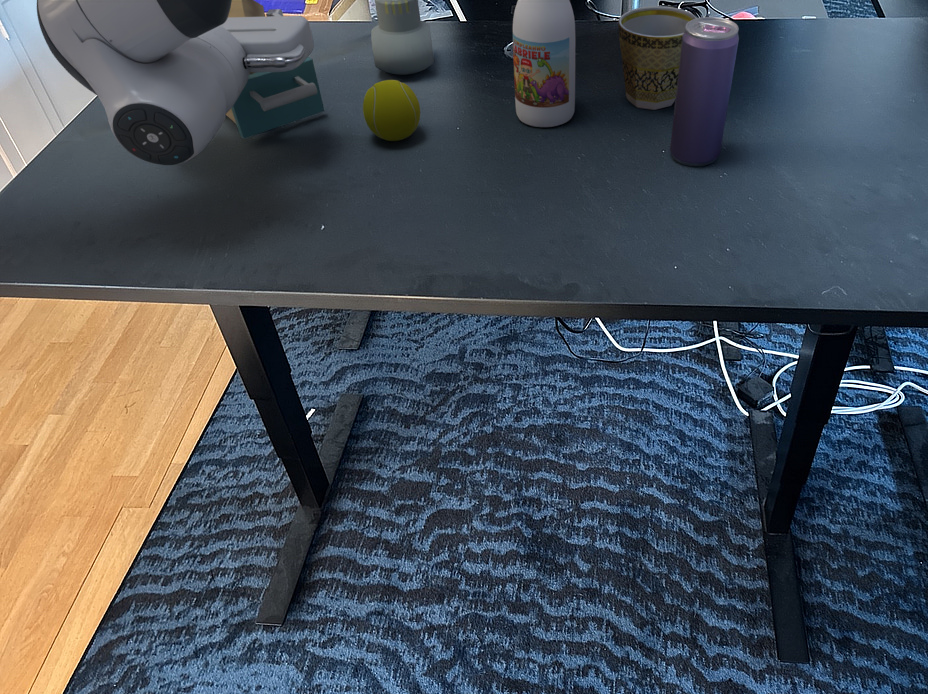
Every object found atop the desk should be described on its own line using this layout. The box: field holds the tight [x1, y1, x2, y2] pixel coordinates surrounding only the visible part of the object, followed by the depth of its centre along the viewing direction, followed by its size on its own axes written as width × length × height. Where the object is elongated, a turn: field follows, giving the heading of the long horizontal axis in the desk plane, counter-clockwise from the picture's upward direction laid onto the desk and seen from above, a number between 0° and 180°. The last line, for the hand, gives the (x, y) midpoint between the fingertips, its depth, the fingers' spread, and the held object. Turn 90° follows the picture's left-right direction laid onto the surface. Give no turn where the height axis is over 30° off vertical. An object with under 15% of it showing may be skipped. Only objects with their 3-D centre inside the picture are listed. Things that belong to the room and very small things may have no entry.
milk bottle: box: [512, 0, 576, 128], centre depth 94 cm, size 8×8×20 cm
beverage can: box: [669, 16, 740, 167], centre depth 88 cm, size 6×6×15 cm
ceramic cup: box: [617, 5, 698, 111], centre depth 101 cm, size 13×10×10 cm
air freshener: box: [370, 0, 435, 76], centre depth 109 cm, size 11×8×10 cm
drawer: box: [226, 56, 325, 139], centre depth 100 cm, size 20×11×7 cm, turn 38°
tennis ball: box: [362, 79, 421, 142], centre depth 96 cm, size 7×7×7 cm
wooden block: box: [228, 0, 266, 75], centre depth 97 cm, size 8×3×9 cm
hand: (238, 16), depth 93 cm, fingers open, 8 cm apart
